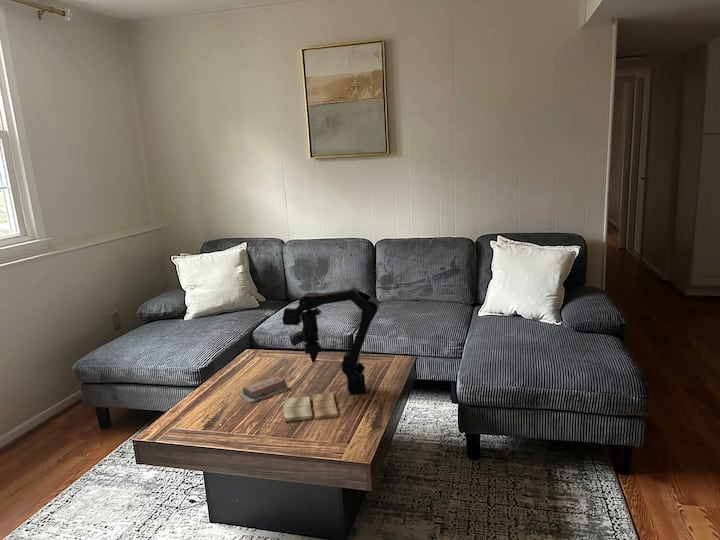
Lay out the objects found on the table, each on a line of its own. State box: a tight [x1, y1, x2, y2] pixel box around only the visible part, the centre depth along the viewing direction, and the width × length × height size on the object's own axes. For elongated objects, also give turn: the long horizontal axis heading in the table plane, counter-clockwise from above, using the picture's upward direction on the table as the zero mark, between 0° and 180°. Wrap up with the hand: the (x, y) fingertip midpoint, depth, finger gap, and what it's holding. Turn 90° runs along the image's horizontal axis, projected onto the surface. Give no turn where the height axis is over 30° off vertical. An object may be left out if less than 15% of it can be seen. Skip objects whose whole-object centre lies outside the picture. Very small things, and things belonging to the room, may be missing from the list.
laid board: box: [311, 392, 339, 420], centre depth 199 cm, size 8×18×1 cm, turn 9°
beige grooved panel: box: [282, 396, 313, 422], centre depth 198 cm, size 10×16×1 cm, turn 9°
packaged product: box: [238, 375, 290, 404], centre depth 215 cm, size 18×5×10 cm
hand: (313, 362), depth 212 cm, fingers closed
